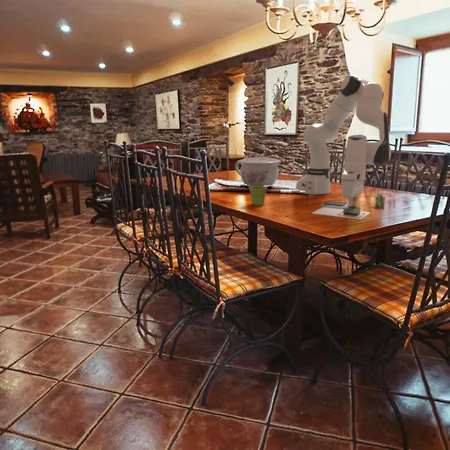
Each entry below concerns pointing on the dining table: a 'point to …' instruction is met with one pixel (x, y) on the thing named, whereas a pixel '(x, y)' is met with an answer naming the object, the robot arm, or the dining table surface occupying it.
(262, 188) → the plant pot
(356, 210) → the stamp
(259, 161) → the chamber pot
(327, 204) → the ink pad
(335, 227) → the dining table surface
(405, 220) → the dining table surface
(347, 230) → the dining table surface
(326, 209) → the paper sheet
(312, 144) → the robot arm
